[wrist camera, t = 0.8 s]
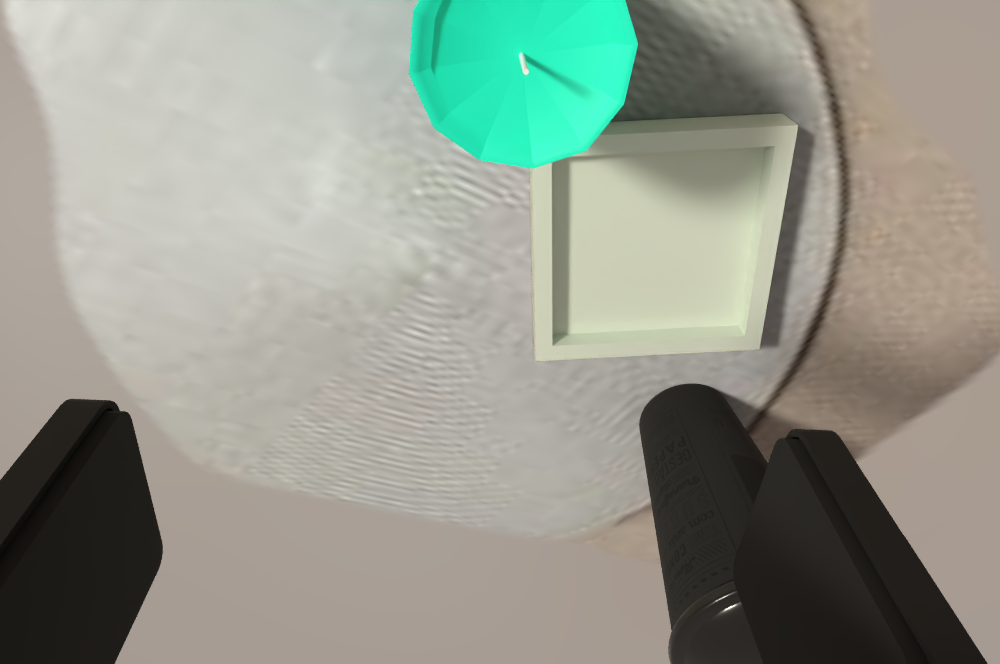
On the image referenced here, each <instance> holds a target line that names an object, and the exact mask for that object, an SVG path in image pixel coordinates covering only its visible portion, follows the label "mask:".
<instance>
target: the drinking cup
mask: <svg viewBox="0 0 1000 664" xmlns="http://www.w3.org/2000/svg"><path fill="white" fill-rule="evenodd" d="M639 427H640V434H641V441H642V447H643V453H644V460H645V466H646V472H647V478H648V485H649V491H650V497H651V504H652V510H653V516H654V523H655V529H656V535H657V541H658V548H659V554H660V560H661V567H662V573H663V579H664V585H665V592H666V597H667V604H668V611H669V617H670V623H671V630H672V632H671V635H670V639H669V646H668V650H669V651H668V653H669V659H670V663H671V664H763V661H762V658H761V656H760V653H759V650H758V647H757V645H756V642H755V639H754V636H753V634H752V631H751V628H750V625H749V623H748V620H747V617H746V614H745V612H744V609H743V606H742V603H741V601H740V598H739V595H738V592H737V590H736V587H735V583H734V578H733V564H734V560H735V557H736V554H737V551H738V548H739V545H740V542H741V540H742V537H743V534H744V531H745V528H746V525H747V523H748V520H749V517H750V514H751V511H752V508H753V505H754V503H755V500H756V497H757V494H758V491H759V488H760V486H761V483H762V480H763V477H764V474H765V471H766V468H767V466H768V463H767V461H766V460H765V458H764V457H763V455H762V454H761V452H760V451H759V449H758V448H757V446H756V445H755V443H754V442H753V440H752V439H751V437H750V436H749V434H748V433H747V431H746V430H745V428H744V427H743V425H742V424H741V422H740V421H739V419H738V418H737V416H736V415H735V413H734V412H733V410H732V408H731V407H730V405H729V404H728V402H727V401H726V400H725V398H724V397H723V396H722V395H721V394H720V393H719V392H718V391H716V390H714V389H713V388H710V387H708V386H704V385H700V384H683V385H678V386H674V387H671V388H669V389H666V390H664V391H662V392H661V393H659V394H658V395H656V396H655V397H654V398H653V399H652V400H651V401H650V402H649V403H648V404H647V405H646V407H645V408H644V410H643V412H642V414H641V418H640V424H639Z"/></svg>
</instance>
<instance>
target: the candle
mask: <svg viewBox="0 0 1000 664" xmlns="http://www.w3.org/2000/svg"><path fill="white" fill-rule="evenodd" d="M637 47H638V42H637V38H636V35H635V31H634V28H633V25H632V21H631V18H630V14H629V11H628V8H627V4H626V1H625V0H419V1H418V3H417V4H416V6H415V8H414V10H413V22H412V37H411V52H410V66H409V75H410V77H411V79H412V81H413V83H414V86H415V88H416V90H417V92H418V94H419V97H420V99H421V101H422V103H423V105H424V107H425V110H426V112H427V114H428V116H429V118H430V120H431V123H432V125H433V127H434V128H435V129H436V130H438V131H439V132H440V133H442V134H443V135H445V136H446V137H447V138H449V139H450V140H452V141H453V142H455V143H456V144H457V145H459V146H460V147H462V148H463V149H464V150H466V151H467V152H469V153H470V154H471V155H473V156H474V157H476V158H477V159H478V160H483V161H489V162H495V163H501V164H508V165H514V166H520V167H526V168H532V169H534V168H537V167H540V166H543V165H546V164H549V163H552V162H555V161H558V160H561V159H564V158H567V157H570V156H573V155H576V154H579V153H582V152H585V151H587V150H588V149H589V147H590V146H591V145H592V144H593V142H594V141H595V140H596V139H597V137H598V136H599V135H600V134H601V132H602V131H603V130H604V129H605V127H606V126H607V125H608V124H609V122H610V121H611V120H612V119H613V117H614V116H615V115H616V114H617V112H618V111H619V110H620V109H621V107H622V106H623V105H624V102H625V98H626V94H627V90H628V85H629V81H630V77H631V72H632V68H633V64H634V60H635V55H636V51H637Z"/></svg>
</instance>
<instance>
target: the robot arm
mask: <svg viewBox="0 0 1000 664" xmlns="http://www.w3.org/2000/svg"><path fill="white" fill-rule="evenodd" d="M162 553H163V545H162V540H161V536H160V531H159V528H158V524H157V519H156V515H155V512H154V507H153V503H152V499H151V495H150V491H149V487H148V483H147V479H146V475H145V471H144V467H143V463H142V459H141V455H140V451H139V447H138V443H137V439H136V435H135V431H134V427H133V423H132V419H131V417H130V415H129V413H128V412H125V411H120V410H119V408H118V406H117V404H116V403H115V402H113V401H109V400H108V401H107V400H85V399H69V400H66V401H65V402H64V403H63V404H61V405H60V407H59V408H58V409H57V410H56V412H55V413H54V414H53V415H52V417H51V418H50V419H49V420H48V422H47V423H46V424H45V425H44V427H43V428H42V429H41V430H40V432H39V433H38V434H37V435H36V437H35V438H34V439H33V440H32V441H31V443H30V444H29V445H28V446H27V448H26V449H25V450H24V451H23V453H22V454H21V455H20V457H19V458H18V459H17V460H16V461H15V463H14V464H13V465H12V466H11V468H10V469H9V470H8V471H7V473H6V474H5V475H4V476H3V478H2V479H1V480H0V664H115V661H116V659H117V657H118V655H119V653H120V651H121V648H122V647H123V644H124V642H125V640H126V638H127V636H128V634H129V632H130V629H131V627H132V625H133V623H134V621H135V619H136V617H137V615H138V612H139V610H140V608H141V606H142V604H143V601H144V599H145V597H146V595H147V593H148V591H149V589H150V587H151V584H152V582H153V580H154V578H155V576H156V574H157V572H158V569H159V567H160V564H161V560H162ZM733 578H734V583H735V587H736V590H737V592H738V595H739V598H740V601H741V603H742V606H743V609H744V612H745V614H746V617H747V620H748V623H749V625H750V628H751V631H752V634H753V636H754V639H755V642H756V645H757V647H758V650H759V653H760V656H761V658H762V661H763V664H987V662H986V661H985V659H984V658H983V656H982V654H981V653H980V651H979V650H978V648H977V647H976V645H975V644H974V642H973V641H972V639H971V638H970V636H969V635H968V633H967V632H966V630H965V628H964V627H963V625H962V624H961V622H960V621H959V619H958V618H957V616H956V615H955V613H954V611H953V610H952V608H951V607H950V605H949V604H948V602H947V601H946V600H945V598H944V596H943V595H942V593H941V592H940V590H939V588H938V587H937V585H936V584H935V582H934V581H933V579H932V578H931V576H930V575H929V573H928V572H927V570H926V568H925V567H924V565H923V564H922V562H921V561H920V559H919V558H918V556H917V555H916V553H915V552H914V550H913V548H912V547H911V545H910V544H909V542H908V541H907V539H906V538H905V536H904V535H903V534H902V532H901V531H900V529H899V528H898V526H897V524H896V523H895V521H894V520H893V518H892V517H891V515H890V514H889V512H888V511H887V509H886V508H885V506H884V505H883V503H882V502H881V500H880V499H879V497H878V495H877V494H876V492H875V491H874V489H873V488H872V486H871V484H870V483H869V481H868V480H867V479H866V477H865V476H864V474H863V472H862V471H861V469H860V468H859V466H858V464H857V463H856V461H855V460H854V458H853V457H852V455H851V454H850V452H849V451H848V449H847V448H846V446H845V444H844V443H843V441H842V440H841V438H840V437H839V436H838V435H837V434H836V433H835V432H833V431H828V430H804V429H795V430H792V431H791V432H790V433H788V435H787V437H786V439H785V438H782V439H779V440H778V441H777V442H776V444H775V446H774V449H773V451H772V454H771V457H770V460H769V463H768V466H767V468H766V471H765V474H764V477H763V480H762V483H761V486H760V488H759V491H758V494H757V497H756V500H755V503H754V505H753V508H752V511H751V514H750V517H749V520H748V523H747V525H746V528H745V531H744V534H743V537H742V540H741V542H740V545H739V548H738V551H737V554H736V557H735V560H734V564H733Z"/></svg>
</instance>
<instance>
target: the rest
mask: <svg viewBox="0 0 1000 664" xmlns="http://www.w3.org/2000/svg"><path fill="white" fill-rule="evenodd" d="M797 130H798V125H797V124H796V123H794V122H793V121H792V120H790V119H789V118H788V117H786V116H785V115H784V114H782V113H778V114H758V115H738V116H718V117H698V118H678V119H658V120H638V121H619V122H609V124H608V125H607V126H606V127H605V129H604V130H603V131H602V132H601V134H600V135H599V136H598V137H597V139H596V140H595V141H594V142H593V144H592V145H591V146H590V147H589V149H588V150H587V151H585V152H582V153H579V154H576V155H573V156H570V157H567V158H564V159H561V160H558V161H555V162H552V163H549V164H546V165H543V166H540V167H537V168H534V169H532V168H529V174H530V222H531V269H532V317H533V345H534V352H535V360H536V361H547V360H566V359H585V358H605V357H624V356H644V355H663V354H683V353H702V352H721V351H741V350H759V349H760V343H761V338H762V332H763V326H764V320H765V315H766V309H767V303H768V297H769V292H770V286H771V280H772V274H773V268H774V263H775V257H776V251H777V245H778V240H779V234H780V228H781V222H782V217H783V211H784V205H785V199H786V194H787V188H788V182H789V176H790V171H791V165H792V159H793V153H794V148H795V142H796V136H797Z"/></svg>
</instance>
